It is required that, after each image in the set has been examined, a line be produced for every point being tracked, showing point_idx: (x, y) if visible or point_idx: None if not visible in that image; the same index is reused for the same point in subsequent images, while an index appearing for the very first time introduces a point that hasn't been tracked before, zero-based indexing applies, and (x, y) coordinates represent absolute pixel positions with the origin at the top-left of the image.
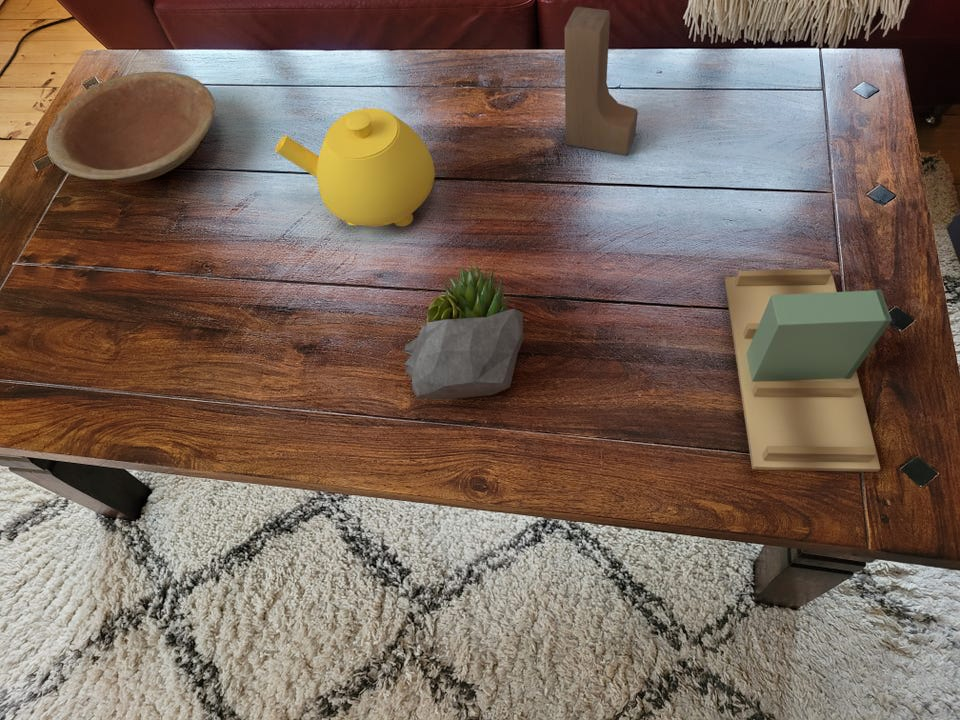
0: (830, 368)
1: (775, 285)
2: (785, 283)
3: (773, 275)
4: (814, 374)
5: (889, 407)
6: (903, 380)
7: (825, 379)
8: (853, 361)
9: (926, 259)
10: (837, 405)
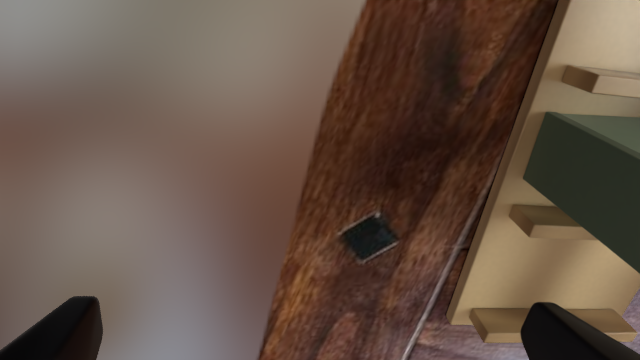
0: (633, 131)
1: None
2: None
3: None
4: (637, 123)
5: (488, 34)
6: (425, 100)
7: (592, 114)
8: (619, 141)
9: (265, 346)
10: (611, 46)
